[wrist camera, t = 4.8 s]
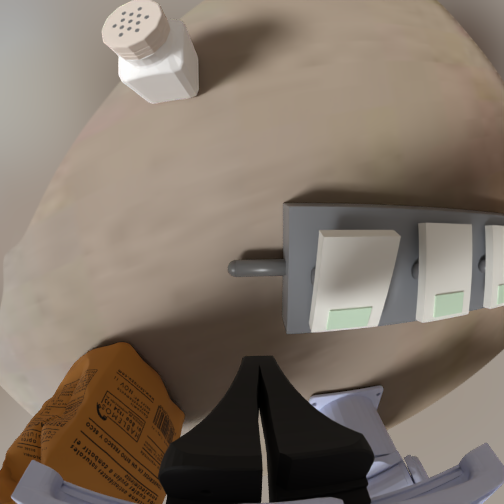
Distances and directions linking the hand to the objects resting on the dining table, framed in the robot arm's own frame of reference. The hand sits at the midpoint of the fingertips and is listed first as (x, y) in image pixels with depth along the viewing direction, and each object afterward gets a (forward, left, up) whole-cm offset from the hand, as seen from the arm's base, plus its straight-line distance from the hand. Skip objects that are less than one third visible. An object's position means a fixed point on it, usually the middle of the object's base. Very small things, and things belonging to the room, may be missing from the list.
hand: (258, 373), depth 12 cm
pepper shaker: (+17, +6, -11) cm, 21 cm away
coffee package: (-11, +13, -11) cm, 20 cm away
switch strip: (+2, -12, -10) cm, 16 cm away
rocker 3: (+2, -22, -7) cm, 23 cm away
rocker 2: (+2, -14, -7) cm, 16 cm away
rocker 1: (+2, -6, -7) cm, 10 cm away
